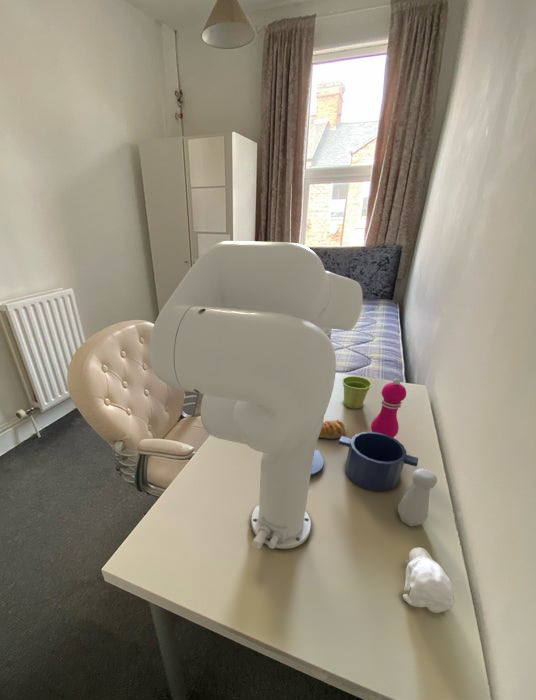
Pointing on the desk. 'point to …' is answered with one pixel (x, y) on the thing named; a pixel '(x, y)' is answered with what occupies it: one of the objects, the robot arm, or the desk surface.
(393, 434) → the pepper mill
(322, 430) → the pastry
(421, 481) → the salt shaker
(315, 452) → the lid
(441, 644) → the desk surface
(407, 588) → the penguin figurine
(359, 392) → the plant pot
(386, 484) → the pot
